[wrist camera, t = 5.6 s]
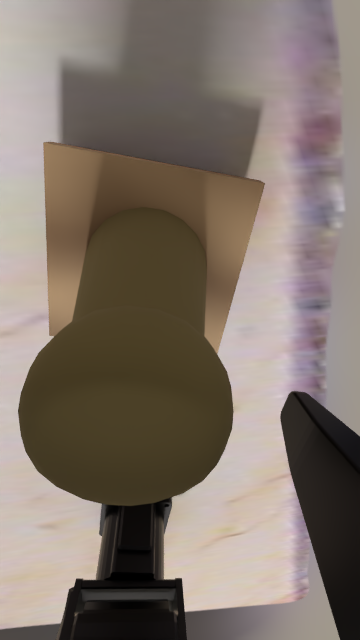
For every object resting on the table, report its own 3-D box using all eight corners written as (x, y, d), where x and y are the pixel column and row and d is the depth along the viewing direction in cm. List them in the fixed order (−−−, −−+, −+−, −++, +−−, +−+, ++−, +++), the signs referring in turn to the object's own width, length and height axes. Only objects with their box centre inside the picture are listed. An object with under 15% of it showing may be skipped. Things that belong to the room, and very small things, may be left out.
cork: (186, 188, 14) (230, 306, 5) (219, 302, 18) (286, 511, 8) (62, 231, 15) (-104, 405, 6) (114, 334, 18) (62, 559, 9)
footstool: (210, 328, 22) (216, 355, 19) (63, 309, 21) (49, 335, 18) (249, 175, 17) (265, 183, 15) (63, 140, 16) (43, 142, 13)
